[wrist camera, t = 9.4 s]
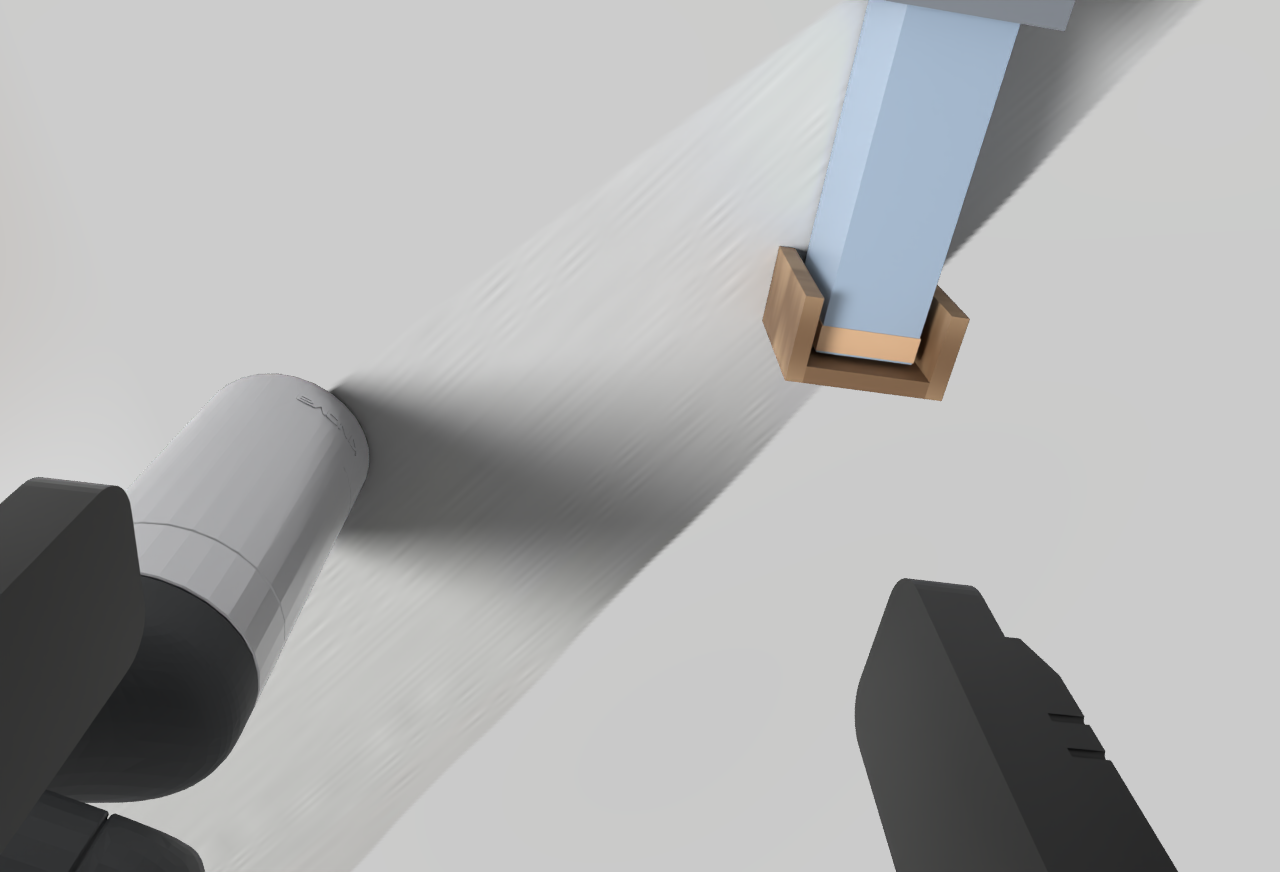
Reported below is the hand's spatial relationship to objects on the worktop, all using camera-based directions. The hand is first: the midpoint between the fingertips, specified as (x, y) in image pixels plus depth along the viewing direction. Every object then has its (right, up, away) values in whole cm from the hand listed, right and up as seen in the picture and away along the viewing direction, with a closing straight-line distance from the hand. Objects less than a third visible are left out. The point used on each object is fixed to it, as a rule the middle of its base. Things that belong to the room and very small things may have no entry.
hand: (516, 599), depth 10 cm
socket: (+12, +9, +36) cm, 39 cm away
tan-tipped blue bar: (+13, +15, +33) cm, 39 cm away
